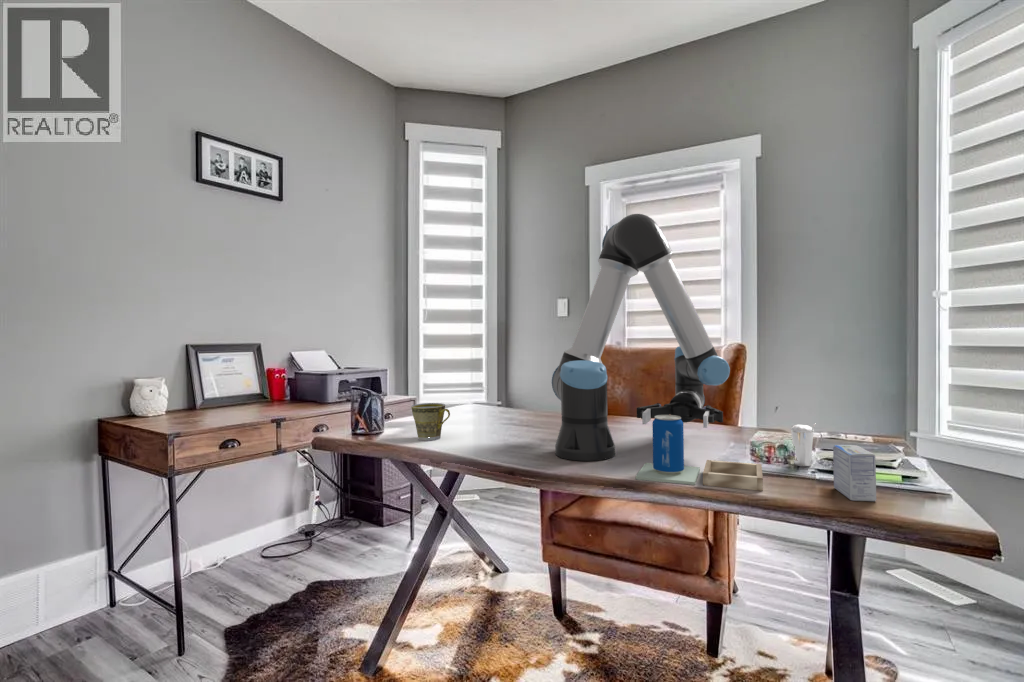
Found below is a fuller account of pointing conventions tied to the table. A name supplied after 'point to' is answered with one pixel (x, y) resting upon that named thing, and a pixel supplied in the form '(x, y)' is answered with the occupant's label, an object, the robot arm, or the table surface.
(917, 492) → the table surface
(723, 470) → the crate
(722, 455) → the table surface
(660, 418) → the beverage can
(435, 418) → the ceramic cup
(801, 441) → the milkshake
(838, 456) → the medicine box
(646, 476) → the mat
